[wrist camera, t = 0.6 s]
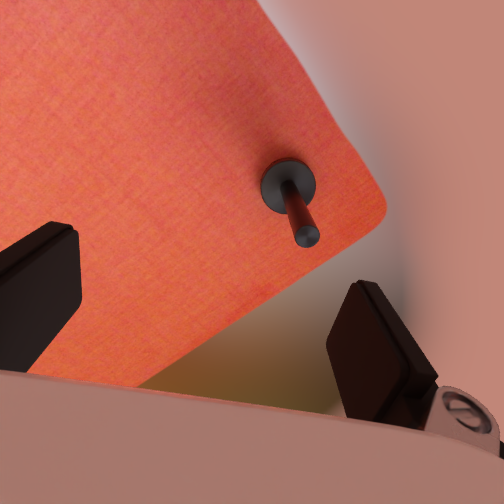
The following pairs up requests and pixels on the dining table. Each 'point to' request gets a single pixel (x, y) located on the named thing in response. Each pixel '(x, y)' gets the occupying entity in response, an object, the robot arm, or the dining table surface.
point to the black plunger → (292, 197)
